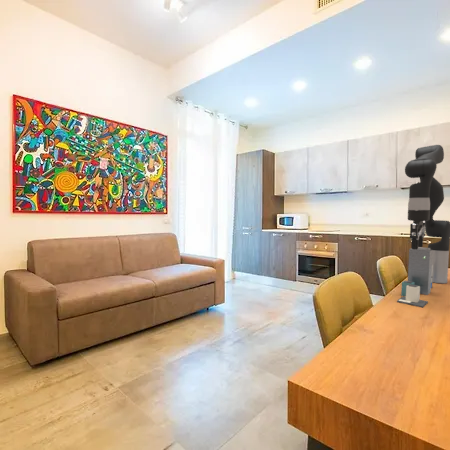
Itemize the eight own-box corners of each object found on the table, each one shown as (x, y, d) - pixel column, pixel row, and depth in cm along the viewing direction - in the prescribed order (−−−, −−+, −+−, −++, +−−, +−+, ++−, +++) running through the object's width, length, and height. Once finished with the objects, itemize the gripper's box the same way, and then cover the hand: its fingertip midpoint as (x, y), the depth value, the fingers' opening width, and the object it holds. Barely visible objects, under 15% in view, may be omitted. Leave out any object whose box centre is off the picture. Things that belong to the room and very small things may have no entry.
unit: (410, 289, 139) (412, 246, 138) (430, 292, 134) (433, 248, 133) (407, 291, 135) (409, 247, 134) (427, 295, 129) (430, 249, 128)
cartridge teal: (403, 293, 131) (404, 279, 130) (413, 295, 128) (414, 281, 127) (401, 295, 128) (401, 281, 127) (411, 297, 125) (412, 283, 125)
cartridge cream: (408, 298, 121) (408, 283, 121) (419, 301, 118) (420, 285, 118) (405, 300, 118) (406, 285, 118) (417, 302, 115) (418, 287, 115)
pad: (402, 297, 124) (402, 296, 124) (427, 302, 118) (428, 301, 118) (396, 302, 118) (396, 300, 118) (422, 307, 112) (423, 305, 112)
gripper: (412, 208, 126) (410, 245, 127) (403, 209, 116) (402, 248, 117) (433, 209, 121) (431, 247, 122) (425, 209, 111) (424, 250, 112)
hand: (417, 248), depth 120 cm, fingers open, 8 cm apart
